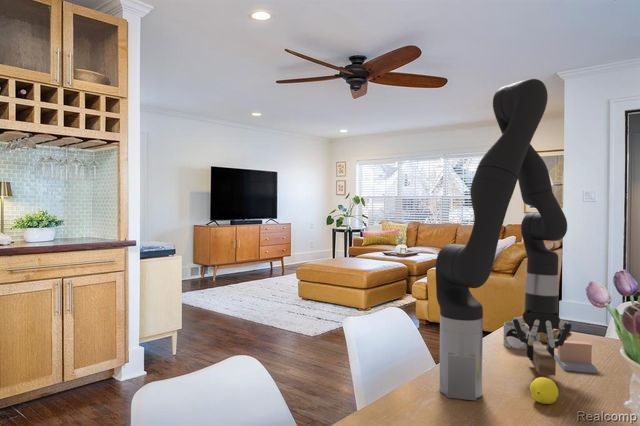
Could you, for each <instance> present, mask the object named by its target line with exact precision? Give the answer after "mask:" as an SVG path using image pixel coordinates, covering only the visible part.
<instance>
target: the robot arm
mask: <svg viewBox="0 0 640 426" xmlns="http://www.w3.org/2000/svg"><path fill="white" fill-rule="evenodd" d="M548 94H549V93H548V89H547V86H546V85H545V83H544V82H543V81H542V80H540V79H538V78H528V79H525V80H521V81H518V82H514V83H511V84H507V85H505V86H501V87H500V88H499V89H497V90H496V92H494V95H493V98H492V108H493V114H494V117H495V119H496V122H497V124H498V128H499V129H500V132H501V136H500V137H499V138H498V139H497V140H496V141H495V142H494V143H493V144H492V146H491V147H490V148H489V149H488V150H487V151H486V153H485V154H484V155H483V156H482V158H481V160H480V161H479V163H478V166H477V168H476V170H475V173H474V176H473V178H472V181H471V185H470V191H469V192H470V194H469V195H470V200H471V201H470V202H471V206H472V210H473V211H472V212H473V226H472V230H471V234H470V236H469V239H468V240H467V243H466V244H458V243H449V244H446V245H444V246H442V248H441V249H440V250H439V252H438V254H437V257H436V259H435V260H436V261H435V290H436V291H435V292H436V300H437V303H438V306H439V313H440V314H439V391H440V392H441V393H442V394H443V395H445V396H446V398H448V399H449V398H450V399H457V400H465V401H466V400H467V401H477V399H479V398H481V396H482V395H483V336H484V335H483V334H484V333H483V327H484V326H483V323H484V321H483V319H484V307H483V304H482V303H481V302H479V301H478V300H477V299H476V298H475V297H474V295H473V294H472V293H471V291H470V289H478V288H481V287H482V286H484V285H485V283H486V282H487V281H488V279H489V278H490V276H491V273H492V269H493V266H494V262H495V258H496V254H497V248H498V246H499V245H498V244H499V239H500V235H501V231H502V228H503V225H504V222H505V221H504V220H505V219H506V215H507V211H508V208H509V205H510V201H511V200H512V198H513V197H512V196H513V194H514V192H515V189H516V186H517V182H518V186H519V190H520V195H521V199H522V201H523V204H526V205H527V206H530V207H533V208H534V209H536V210H537V211H534V212H528V213H527V214H525V216H523V219H522V221H521V222H520V223H521V225H520V233H521V237H522V241H523V244H524V249H525V253H526V257H527V259H526V260H527V262H526V277H525V284H524V285H525V286H524V290H525V291H524V294H525V295H524V312H523V313H522V315H521V316H518V317H515V316H514V317H512V318H511V322H513V325H514V327H515V330H516V332H517V335H518V338H519V340H520V341H521V342H524V343H526V349H525V356H526V357H527V359H528V360H529V361H530V360H533V347H534V346H533V342H534V338H535V336H536V333H540V332H542V333H545V335H546V338H547V343H546V347H545V348H546V350H547V351H548V352H549V353H550V354H551V355H552V357H553V358H554V353H555V348H556V347H558V346H562V345H563V343H564V341H565V339H566V337H567V338H568V336H569V334H570V333H569V331H570V332H571V329H572V324H571V323H569V321H565V320H562V319H561V318H560V315H559V297H560V296H559V294H560V293H559V292H560V291H559V289H560V282H559V255H558V253H557V252H556V251H554V250H551V249H548V248H547V247H546V244H545V241H548V242H550V241H551V242H557V241H560V240H562V239H563V238H565V237H566V234H567V232H568V220H567V217H566V215H565V213H564V211H563V209H562V207H561V206H560V203H559V202H558V199H557V198H556V196H555V194H554V193H553V187H552V181H551V177H550V173H549V170H548V167H547V165H546V162H545V161H544V159H543V158H542V157H541V155H540V154H539V153H538V152H537V150H536V149H535V148H534V147H533V145H532V144H531V142H532V140H533V137H534V135H535V133H536V131H537V128H538V127H539V124H540V123H541V120H542V119H543V116H544V114H545V112H546V108H547V105H548V99H549V97H548V96H549V95H548ZM524 322H525V324H526V325H527V326H528V327H529V329H528V332H527V338H526V337H524V335H523V332H522V330H521V327H520V326H522V323H524ZM558 325H559V326H558ZM557 326H558V327H559V329H560V332H559V334H558V336H557V338H556V339H555V340H554V336H553V330H555V329H556V327H557ZM568 333H569V334H568ZM554 359H555V358H554Z"/></svg>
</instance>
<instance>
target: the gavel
mask: <svg viewBox="0 0 640 426" xmlns="http://www.w3.org/2000/svg"><path fill="white" fill-rule="evenodd" d="M552 331H553V336H554V340H555V339H556V338H557V336H558V334H559V332H560V328H558V329H553V330H552ZM569 332H570V333H571V330H570V331H569ZM570 333H568V335H569V334H570ZM539 335H540V339H539V342H541V343H542V344H543V343H544V344H548V343H547V338H546V335H545V333H542V332H540V333H539ZM535 340H536V336H535V338H534V341H535ZM565 340H566V341H568V336H567V337H566V339H565Z"/></svg>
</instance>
